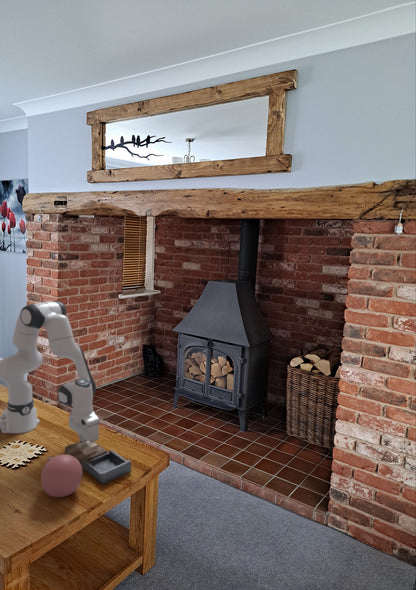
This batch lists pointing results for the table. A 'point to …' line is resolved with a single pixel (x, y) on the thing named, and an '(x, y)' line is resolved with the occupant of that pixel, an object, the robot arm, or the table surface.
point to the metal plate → (75, 452)
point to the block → (88, 447)
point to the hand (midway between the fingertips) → (83, 443)
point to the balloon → (61, 475)
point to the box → (107, 467)
